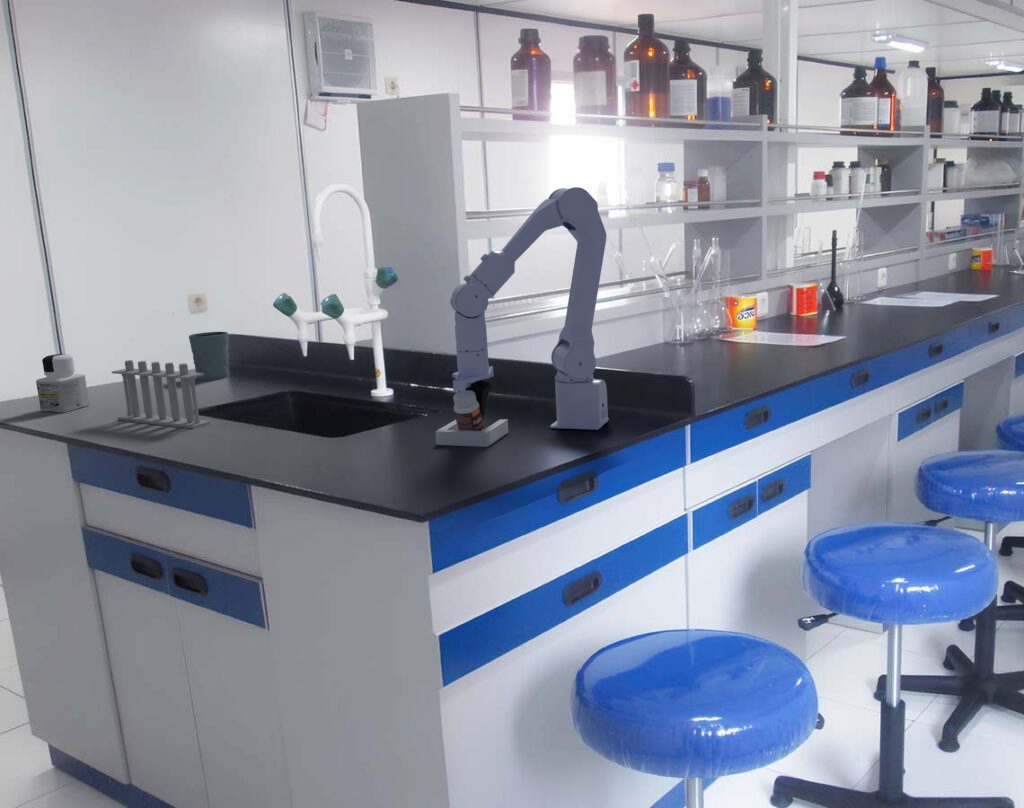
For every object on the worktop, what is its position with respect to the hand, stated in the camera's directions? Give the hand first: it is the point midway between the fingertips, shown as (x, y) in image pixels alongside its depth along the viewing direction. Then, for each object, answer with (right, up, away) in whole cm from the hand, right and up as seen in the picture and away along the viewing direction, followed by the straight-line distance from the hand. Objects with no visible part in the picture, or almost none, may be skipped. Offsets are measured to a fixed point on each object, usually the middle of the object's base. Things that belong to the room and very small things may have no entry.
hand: (476, 421), depth 176 cm
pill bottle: (-1, -3, -2) cm, 3 cm away
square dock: (0, -3, -1) cm, 3 cm away
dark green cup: (-75, +10, +82) cm, 111 cm away
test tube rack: (-69, -1, +28) cm, 74 cm away
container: (-100, +2, +49) cm, 112 cm away
